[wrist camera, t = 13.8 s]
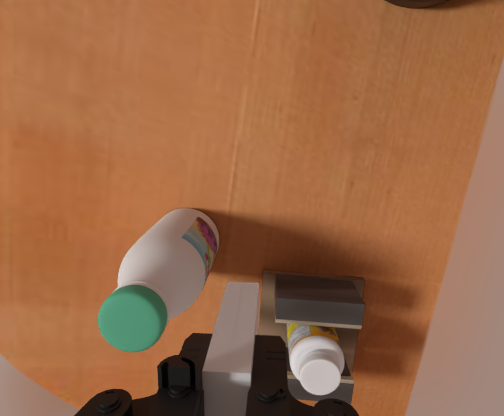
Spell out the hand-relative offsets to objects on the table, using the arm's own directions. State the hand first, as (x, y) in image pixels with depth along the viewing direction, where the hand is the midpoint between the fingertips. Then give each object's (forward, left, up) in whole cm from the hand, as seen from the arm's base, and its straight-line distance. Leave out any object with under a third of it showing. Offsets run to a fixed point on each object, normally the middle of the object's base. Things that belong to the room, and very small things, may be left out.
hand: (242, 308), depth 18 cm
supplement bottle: (+1, +16, -26) cm, 30 cm away
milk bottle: (+9, 0, -27) cm, 28 cm away
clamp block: (+1, +16, -26) cm, 31 cm away
